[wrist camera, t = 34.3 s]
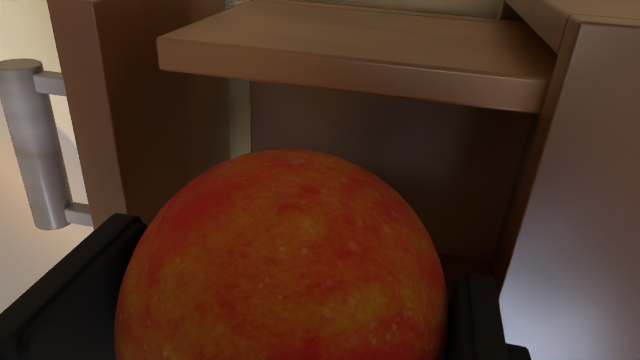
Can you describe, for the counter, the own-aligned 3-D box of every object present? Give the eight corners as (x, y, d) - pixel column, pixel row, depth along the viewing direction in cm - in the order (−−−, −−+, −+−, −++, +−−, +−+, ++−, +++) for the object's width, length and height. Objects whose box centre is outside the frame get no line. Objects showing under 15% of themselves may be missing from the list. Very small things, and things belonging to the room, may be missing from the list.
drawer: (121, 211, 24) (-2, 324, 17) (78, -39, 18) (-127, -20, 12) (499, 276, 21) (531, 440, 14) (581, 1, 16) (694, 58, 9)
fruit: (305, 343, 16) (207, 656, 9) (161, 189, 14) (-93, 431, 7) (495, 257, 13) (564, 629, 6) (341, 50, 11) (196, 239, 4)
